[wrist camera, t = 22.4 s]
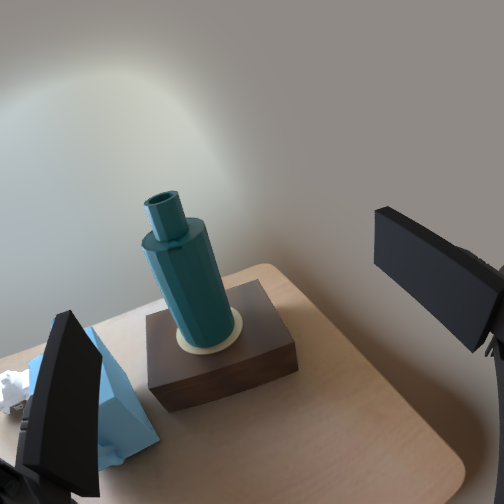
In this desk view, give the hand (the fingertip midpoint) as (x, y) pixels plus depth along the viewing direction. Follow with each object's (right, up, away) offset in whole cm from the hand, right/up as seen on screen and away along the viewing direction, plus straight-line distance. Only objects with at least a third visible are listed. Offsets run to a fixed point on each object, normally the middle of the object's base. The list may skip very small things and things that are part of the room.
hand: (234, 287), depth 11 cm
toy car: (-41, -25, +24) cm, 53 cm away
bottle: (-5, -8, +26) cm, 28 cm away
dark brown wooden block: (-4, -14, +29) cm, 32 cm away
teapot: (-19, -22, +21) cm, 36 cm away
